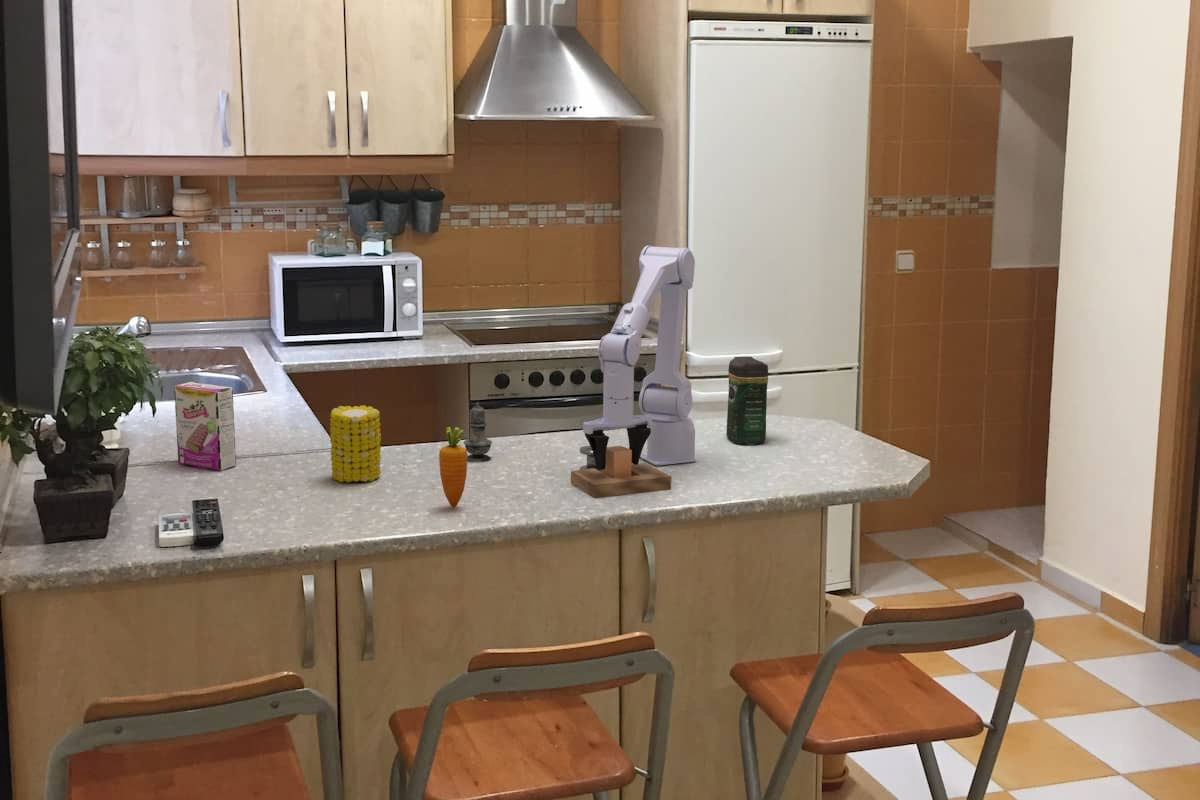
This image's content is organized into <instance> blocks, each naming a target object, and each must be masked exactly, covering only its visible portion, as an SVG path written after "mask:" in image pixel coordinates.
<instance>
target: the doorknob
mask: <svg viewBox="0 0 1200 800" xmlns="http://www.w3.org/2000/svg"><path fill="white" fill-rule="evenodd" d="M579 453H580V454H582V455H585V456H586V464H585V465H582V466H580V467H579V470H583V469H593V468H595V469H597V470H598V471H600V472H602V473H603V470H601V469H598V468H596V463H595V458H594V455H593V451H592V449H591V446H590V445H584V446H581V447H580V448H579Z"/></svg>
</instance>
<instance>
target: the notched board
mask: <svg viewBox="0 0 1200 800" xmlns="http://www.w3.org/2000/svg"><path fill="white" fill-rule="evenodd" d="M570 484H571V485H573V486H575V487H576V488H578V489H580V490H581V491H583V492H584V493H586V494H587V495H589V496H590V497H592V498H596V499H597V498H605V497H606V498H607V497H613V496H622V495H631V494H638V493H649V492H657V491H665V490H672V476H671V475H670V474H668V473H665V472H664V471H662V470H660V469H658V468H656V467H654V466H652V465H650V464H648V463H647V462H642V463H641V462H639V463H638V465H635V464H631V476H628V477H619V478H611V477H609V476H607V475H606V474H604V473H602V472H600V471H598V470H597V469H595V468H593V469H583V470H580V469H576V470H571V471H570Z"/></svg>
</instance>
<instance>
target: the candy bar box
mask: <svg viewBox="0 0 1200 800" xmlns="http://www.w3.org/2000/svg"><path fill="white" fill-rule="evenodd" d="M173 392H174V408H175V409H174V410H175V424H176V428H175V429H176V441H177V461H178V462H177V464H178V465H179V466H186V467H191V468H199V469H204V470H205V469H206V470H210V471H211V470H212V471H218V472H223V471H226V470H229V469H231V468H234V467H237V456H236V455H237V453H236V452H237V451H236V441H235V440H236V434H235V412H234V390H233V386H232V387H231V386H225V385H217V384H210V383H209V384H208V383H203V382H202V383H201V382H195V381H188V382H184V383H180V384H179V383H178V384H175V385H174V386H173Z"/></svg>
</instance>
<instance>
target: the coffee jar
mask: <svg viewBox="0 0 1200 800" xmlns="http://www.w3.org/2000/svg"><path fill="white" fill-rule="evenodd" d="M727 372H728V398H727V416H726V417H727V418H726V431H725V432H726V433H725V434H726V437H727V439H728V440H730V441H731V442H733V443H735V444H745V445H747V446H748V445H749V446H752V445H753V446H754V444H755V445H757V444H760V443H764V442H765V441H766V439H767V398H768V383H769V382H768V381H769V365H768V364H766V363H765V362H763V361H761V360H758V359H755V358H753V357H752V356H734V357H733V359H731V360H729V363H728V371H727Z"/></svg>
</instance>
